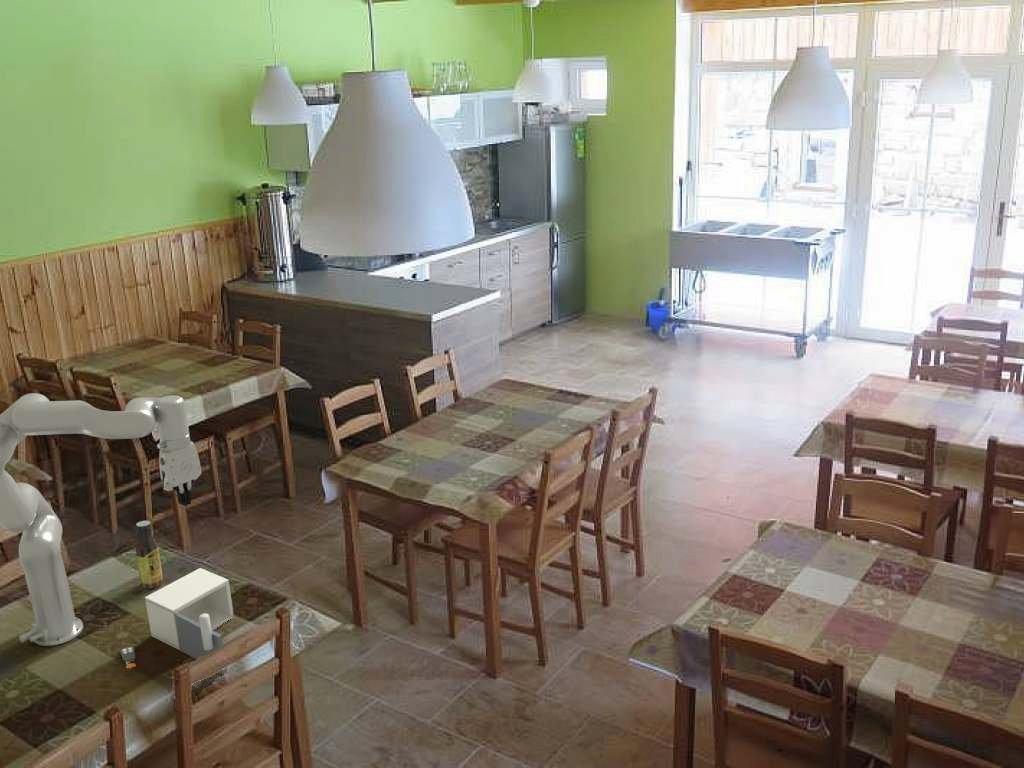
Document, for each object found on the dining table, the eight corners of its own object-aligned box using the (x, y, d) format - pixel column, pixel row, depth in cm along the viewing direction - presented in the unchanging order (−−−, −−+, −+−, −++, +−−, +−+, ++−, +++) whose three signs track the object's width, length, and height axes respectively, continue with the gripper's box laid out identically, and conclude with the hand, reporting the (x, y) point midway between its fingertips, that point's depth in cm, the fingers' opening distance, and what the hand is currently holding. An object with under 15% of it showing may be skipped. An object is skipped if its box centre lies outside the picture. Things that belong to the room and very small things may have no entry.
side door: (171, 654, 250) (161, 599, 245) (182, 647, 253) (173, 593, 247) (216, 679, 240) (207, 622, 234) (227, 672, 242) (219, 615, 237)
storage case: (179, 650, 253) (173, 610, 249) (151, 635, 259) (144, 597, 255) (233, 617, 267) (228, 579, 263) (205, 604, 273) (200, 567, 269)
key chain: (119, 653, 253) (118, 648, 252) (134, 649, 255) (133, 644, 254) (126, 680, 242) (125, 675, 242) (141, 675, 244) (140, 670, 243)
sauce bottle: (156, 590, 281) (145, 530, 275) (137, 588, 282) (126, 528, 276) (168, 579, 287) (158, 519, 281) (149, 577, 289) (138, 518, 282)
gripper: (160, 454, 248) (170, 517, 255) (207, 435, 260) (216, 496, 266) (142, 448, 253) (153, 511, 259) (189, 429, 264) (198, 490, 270)
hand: (185, 503), depth 262 cm, fingers closed
